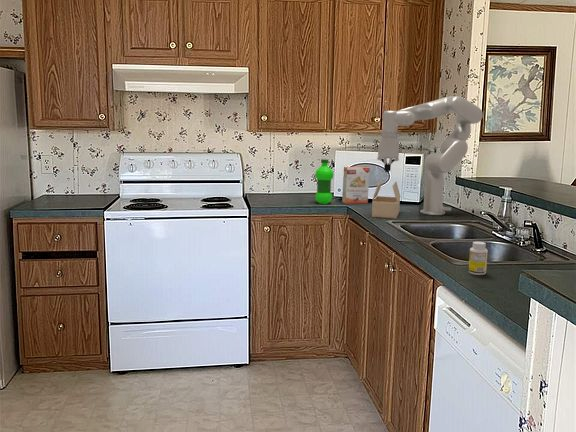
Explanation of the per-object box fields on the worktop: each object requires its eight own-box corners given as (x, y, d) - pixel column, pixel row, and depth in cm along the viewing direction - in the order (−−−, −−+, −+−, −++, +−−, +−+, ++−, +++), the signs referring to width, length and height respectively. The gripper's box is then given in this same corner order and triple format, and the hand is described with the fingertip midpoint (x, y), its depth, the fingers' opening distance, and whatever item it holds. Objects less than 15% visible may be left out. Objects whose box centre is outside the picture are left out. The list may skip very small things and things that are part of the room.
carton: (399, 212, 309) (400, 197, 308) (395, 219, 289) (396, 202, 288) (376, 210, 312) (377, 196, 311) (371, 217, 292) (372, 201, 291)
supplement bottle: (474, 270, 195) (476, 240, 194) (489, 273, 191) (491, 243, 189) (464, 272, 192) (467, 242, 190) (479, 276, 188) (482, 245, 186)
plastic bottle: (311, 202, 338) (313, 158, 334) (329, 201, 341) (330, 158, 337) (317, 204, 329) (318, 160, 324) (335, 204, 332) (336, 160, 327)
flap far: (373, 200, 292) (372, 199, 292) (377, 195, 309) (376, 194, 309) (378, 185, 290) (377, 184, 290) (382, 181, 307) (381, 180, 307)
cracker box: (345, 204, 333) (346, 167, 330) (341, 202, 339) (343, 166, 336) (368, 203, 337) (370, 167, 334) (364, 202, 343) (365, 166, 339)
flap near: (399, 196, 306) (400, 196, 306) (396, 201, 289) (397, 201, 289) (395, 181, 306) (396, 181, 306) (392, 185, 288) (393, 185, 288)
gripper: (405, 136, 295) (402, 172, 298) (375, 134, 299) (373, 170, 302) (404, 136, 288) (401, 173, 291) (373, 135, 292) (371, 171, 295)
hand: (387, 172), depth 297 cm, fingers closed
